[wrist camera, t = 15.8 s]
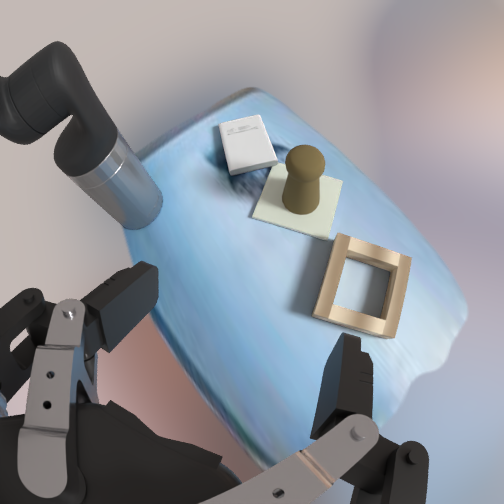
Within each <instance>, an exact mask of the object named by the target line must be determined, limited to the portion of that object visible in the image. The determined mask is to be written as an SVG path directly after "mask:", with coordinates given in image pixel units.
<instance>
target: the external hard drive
mask: <svg viewBox="0 0 504 504" xmlns="http://www.w3.org/2000/svg"><path fill="white" fill-rule="evenodd" d="M219 129H220V134H221V138H222V142H223V147H224V151H225V155H226V160H227V164H228V168H229V172H230V175H231V176H232V175H237V174H241V173H246V172H250V171H254V170H258V169H263V168H267V167H271V166H276V165H278V160H277V157H276V154H275V152H274V149H273V147H272V144H271V141H270V139H269V136H268V134H267V131H266V129H265V126H264V124H263V121H262V119H261V116H260V115H254V116H249V117H245V118H241V119H236V120H232V121H227V122H223V123H220V124H219Z"/></svg>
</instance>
